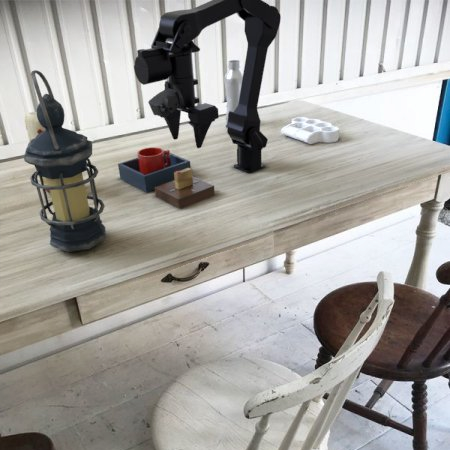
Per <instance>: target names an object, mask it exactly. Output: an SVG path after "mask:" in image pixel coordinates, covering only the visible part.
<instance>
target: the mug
mask: <svg viewBox="0 0 450 450" xmlns="http://www.w3.org/2000/svg"><path fill="white" fill-rule="evenodd" d="M170 153H171V151H170V149H163V148H161V147H144V148H142V149H140V150H138V151H137V158H138V162H139V169H140V173H142V174H144V175H147V174H150V173H153V172H156V171H158V170H161V169H164V168H166V167H169V166H171V159H170ZM165 154H166V157H167V163H165V157H164V155H165Z"/></svg>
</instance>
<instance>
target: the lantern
mask: <svg viewBox="0 0 450 450" xmlns="http://www.w3.org/2000/svg"><path fill="white" fill-rule="evenodd" d="M36 74H37V75H38V76H39V77H40V78H41V81H42V82H43V84H44V86H45V88H46V90H47V93H44V94H43V95H42V92H41V89H40V86H39V83H38V80H37V76H36ZM30 76H31V79H32V82H33V86H34V89H35V92H36V96H37V99H38V105H37V107H36V112H37V118H38V121H39V123H40V124H41V126H42V127H44V128H45V129H46V130H45V131H43V132H41V133H40V134H38V135H37V136H36V138H34V139H32V140H31V141H30V142H29V141H28V144H27V147H26V148H25V152H24V154H23V159H24V160H23V161H24V162H25V163H27V164H29V165H32V166H34V168H35V170H36V171H34V172H33V173H32V175H30V177H29V179H30V183H31V185H32V186H34V187H36V191H37V194H38V198H39V203H40V206H41V209H40V211H39V212H38V213H39V216H40V220H42V221H43V222H45V223H46V225H48V226H49V232H50V235H49V237H50V239H49V240H50V241H49V246H51V247H53V248H55V249H59V250H61V251H64V252H67V253H73V252H80V251H88V250H90V249H92V248H93V247H95V246H97V245H98V244H100V243H102V242H103V241H105V239H106V238H107V236H106V235H107V233H106V231H107V230H106V226H105V224H103V221H102V219H101V217H100V215H101V214H102V213H103V212H104V210H105V207H106V206H105V203H104V202H103V200H102V199H100V198H99V197H98V192H97V187H96V181H95V179H96V178H97V176H98V175H99V170H98V168H97V166H95V165H94V164H92V162H91V160H90V158H91V157H92V155H93V142H92V140H90V139H89V140H88V136H86V135H84V134H82V133H78V132H76V131H74V130H72V129H68V128H65V127H63V125H64V124H65V117H66V116H65V110H64V107H63V105H62V104H61V102H59V101H58V100H57V99H55V96H54V93H53V90H52V88H51V86H50V84H49V82H48V80H47V78H46V76H45V75H44V74H43V73H42V72H41V71H39V70H37V69H36V70H32V71H31V72H30ZM84 172H87V175H88V177H87V178H86V179H84V176H83V173H84ZM42 177H45V178H47V182H48V186H47V185H44V183H43V179H42ZM38 178H39V180H38ZM39 181H40V183H39ZM88 183H89V186H90V191H91V195H88V194H87V191H86V186H85V185H86V184H88ZM41 189H42V191H41ZM45 189H48V190H50V193H49V194H50V198H51V201H50V202H49V198H48V195H47V191H46V190H45ZM42 193H43V196H44V199H43V196H42ZM44 200H45V202H44ZM89 200H93V206H94V207H92V206H90V204H89ZM99 205H100V207H99ZM51 206H53V210H54V211H52V209H51ZM98 208H99V209H98ZM46 211H48V212H49V214H51V216H52V219H49V218H48V214H47V212H46Z"/></svg>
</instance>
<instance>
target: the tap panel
mask: <svg viewBox="0 0 450 450" xmlns="http://www.w3.org/2000/svg"><path fill="white" fill-rule="evenodd" d="M192 177H193V185H190V186H187V187H185V188H182V189H179V190H178V189H176V188H175V180H174V181H171V182H168V183H165V184H163V185H160V186H157V187H155V190H154V194H155V197H156V198H158V199H160V200H161V201H164V203H165V202H166V203H167V204H170V205H171V206H173V207H175V208H177V209H179V210H180V209H183V208H185V207H188V206H190V205H193V204H196V203H198V202H200V201H201V202H202V201H204V200H206V199H208V198H211V197H213V196H215V194H216V192H215V185H214V184H212V183H209V182H207V181H205V180H202V179H200V178H197V177H195V176H193V175H192Z"/></svg>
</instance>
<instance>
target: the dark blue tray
mask: <svg viewBox="0 0 450 450" xmlns="http://www.w3.org/2000/svg"><path fill="white" fill-rule="evenodd" d="M164 157H165V163H167V157H166V154H165V155H164ZM170 159H171V166H169V167H166V168H164V169H161V170H158V171H156V172H153V173H150V174H147V175H144V174H142V173H140V169H139V162H138V157H135V158H132V159H128V160H125V161H122V162H118V163H117V167H118V173H119V179H120V180H122V181H123V182H125V183H127V184H129V185H131V186H133V187H134V188H137V189H139V190H141V191H143V192H144V193H149V192H152V191H155V187H157V186H160V185H163V184H165V183H168V182H171V181H174V180H175V178H174V173H175V171H181V170H183V169H186V168H190V169H192V166H191V161H190V160H189V159H186V158H184V157H181V156H179V155H177V154H175V153H172V152H170Z"/></svg>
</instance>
